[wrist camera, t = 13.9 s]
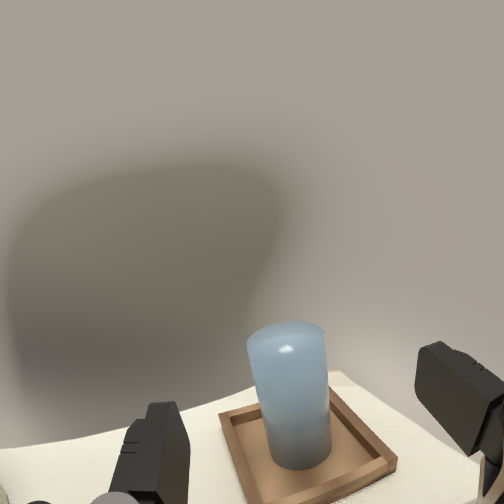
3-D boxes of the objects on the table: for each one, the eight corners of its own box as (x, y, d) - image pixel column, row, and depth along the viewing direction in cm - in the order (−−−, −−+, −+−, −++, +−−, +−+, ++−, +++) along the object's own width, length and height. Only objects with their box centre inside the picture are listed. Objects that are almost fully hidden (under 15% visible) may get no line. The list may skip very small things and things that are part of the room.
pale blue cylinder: (281, 478, 21) (258, 367, 19) (263, 439, 27) (239, 333, 25) (342, 455, 23) (337, 341, 20) (317, 421, 28) (305, 315, 26)
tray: (257, 528, 17) (253, 517, 17) (222, 427, 30) (218, 413, 30) (395, 471, 20) (398, 457, 19) (325, 394, 33) (324, 380, 33)
